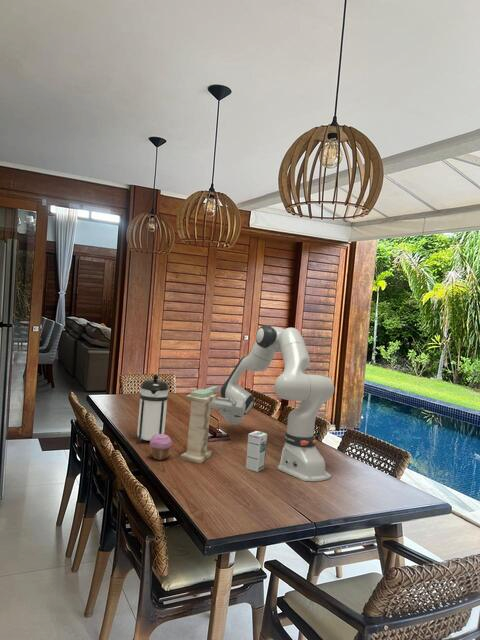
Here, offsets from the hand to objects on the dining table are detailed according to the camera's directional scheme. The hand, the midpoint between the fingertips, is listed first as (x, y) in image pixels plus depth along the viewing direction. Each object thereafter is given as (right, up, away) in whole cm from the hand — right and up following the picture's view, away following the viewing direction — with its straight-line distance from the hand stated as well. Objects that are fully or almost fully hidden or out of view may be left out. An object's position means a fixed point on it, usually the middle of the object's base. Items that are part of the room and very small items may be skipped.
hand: (220, 397), depth 222 cm
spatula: (-5, +4, -16) cm, 17 cm away
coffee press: (-32, -19, -2) cm, 37 cm away
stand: (-9, -22, -20) cm, 31 cm away
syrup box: (+15, -24, -27) cm, 39 cm away
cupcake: (-23, -21, -26) cm, 41 cm away
